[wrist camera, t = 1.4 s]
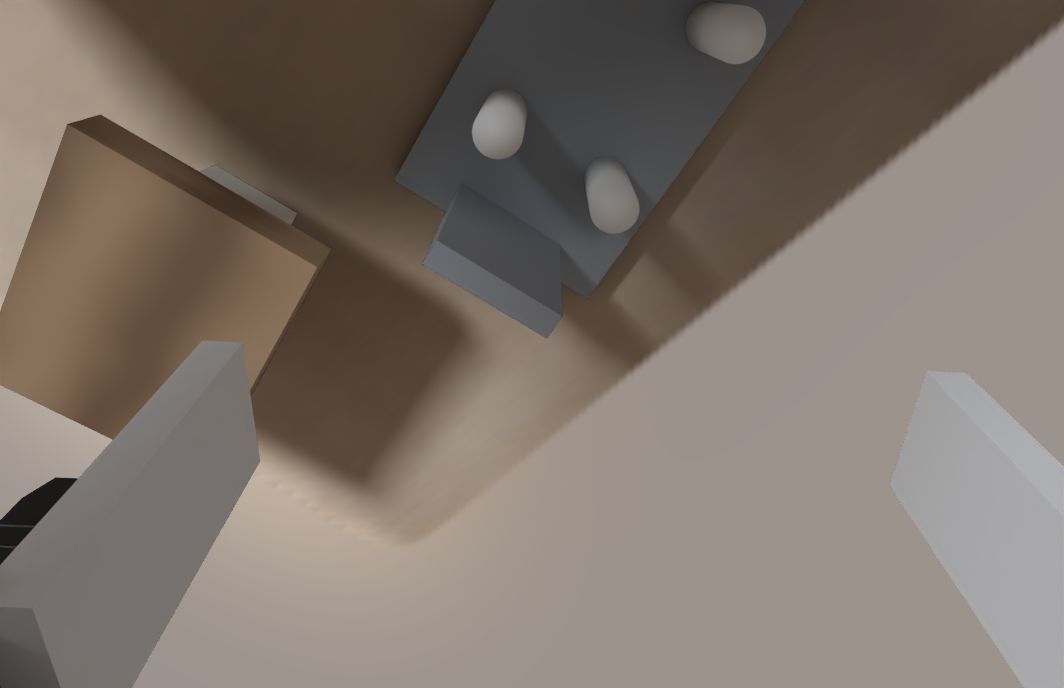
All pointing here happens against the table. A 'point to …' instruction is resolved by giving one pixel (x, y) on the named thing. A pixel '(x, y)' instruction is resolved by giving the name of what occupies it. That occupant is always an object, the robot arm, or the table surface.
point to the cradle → (574, 136)
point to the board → (141, 278)
